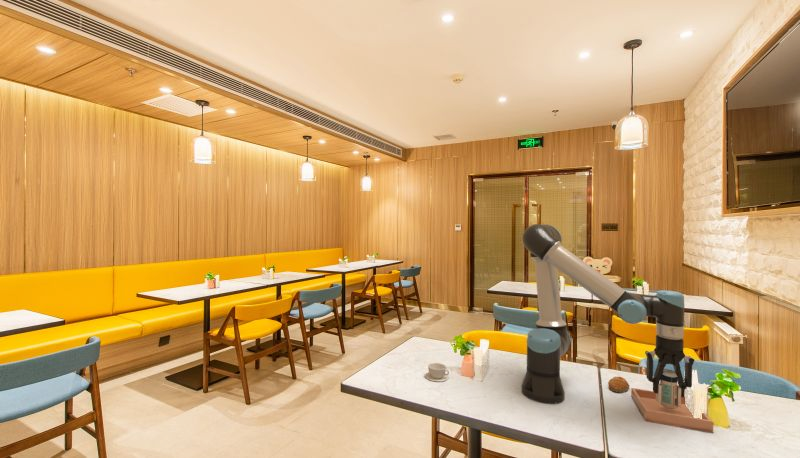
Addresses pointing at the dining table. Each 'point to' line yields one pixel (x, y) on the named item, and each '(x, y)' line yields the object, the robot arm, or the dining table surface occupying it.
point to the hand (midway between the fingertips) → (668, 404)
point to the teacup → (437, 372)
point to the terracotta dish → (668, 412)
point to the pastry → (618, 384)
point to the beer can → (669, 389)
